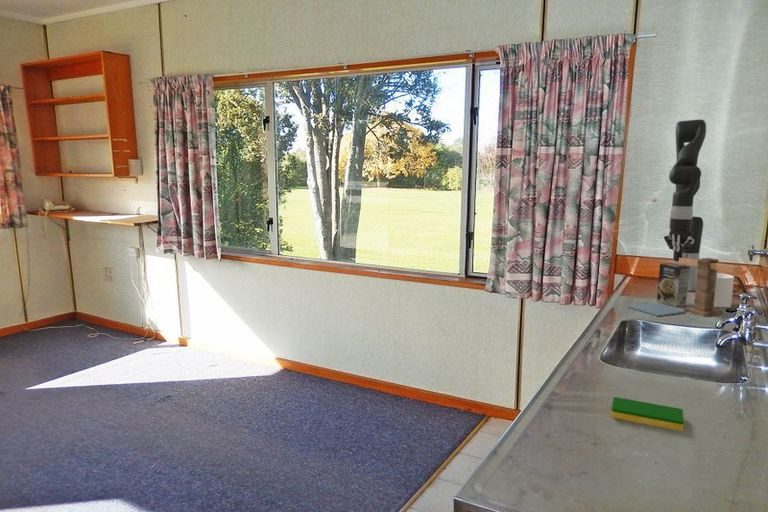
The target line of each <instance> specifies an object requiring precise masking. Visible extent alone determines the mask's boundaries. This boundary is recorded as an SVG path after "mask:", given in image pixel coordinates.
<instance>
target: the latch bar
mask: <svg viewBox="0 0 768 512" xmlns="http://www.w3.org/2000/svg"><path fill="white" fill-rule="evenodd" d="M679 263H682V264H688V265H693V266H697V265H698V260H697V259H691V258H685V257H683V258H679ZM709 268H710V269H715V270H717V271H722V272H726V273H734V274H735V273H740V266H738V265H731V264H726V263H721V262H720V263H719V262H718V263H715V262H710V265H709Z"/></svg>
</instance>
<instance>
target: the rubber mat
mask: <svg viewBox="0 0 768 512" xmlns="http://www.w3.org/2000/svg"><path fill="white" fill-rule="evenodd" d="M627 308H628V309H630V310H634V311H637V312H642V313H644V314H648V315H650V316H654V317H656V318H657V317H658V316H659V317H666V316H665V315H667V316H672V314H674V315H679V313H681V314H686V311H684V310H682V309H678V308H676V307H675V308H674V307H672V306H671V307H670V306H669V305H665V304H661V303H658V302H652V303H651V302H650V303H642V304H634V305H628V306H627Z"/></svg>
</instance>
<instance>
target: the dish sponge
mask: <svg viewBox="0 0 768 512" xmlns="http://www.w3.org/2000/svg"><path fill="white" fill-rule="evenodd" d="M610 412H611V414H610V417H611V416H612V417H611V418H612V419H619V420H623V421H629V422H634V423H640V424H642V425H643V424H645V425H650V426H654V427H659V428H665V429H670V430H675V431H680V432H683V430H684V422H685V421H684V411H683V409H681V408H678V407H672V406H667V405H662V404H656V403H651V402H646V401H645V402H644V401H639V400H633V399H629V398H628V399H627V398H623V397H617V396H614V397H613V400H612V405H611V411H610Z"/></svg>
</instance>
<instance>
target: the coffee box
mask: <svg viewBox="0 0 768 512" xmlns="http://www.w3.org/2000/svg"><path fill="white" fill-rule="evenodd" d="M658 271H659V274H658V285H657V295H656V296H657V297H656V303H659V302H660V303H659V304H663V303H664V304H663V305H666V304H667V305H666V306H670V305H672V306H671V307H674V306H676V307H675V308H678V307H677V306H680V307H685V306H684V305H686V306H687V298H688V292H689V291H688V282H689V273H690V267H689V266H683V265H678V264H675V263H672V262H667V263H659V270H658Z"/></svg>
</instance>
